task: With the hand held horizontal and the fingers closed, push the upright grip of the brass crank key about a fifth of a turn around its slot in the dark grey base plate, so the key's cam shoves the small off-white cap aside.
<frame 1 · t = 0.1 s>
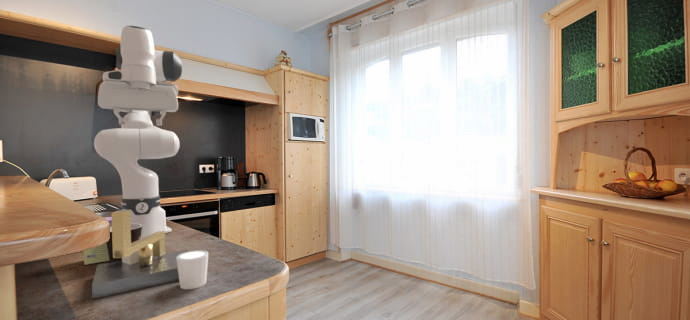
hand: (141, 124, 94), 39 cm above the counter, tool pointing down, fingers open, 8 cm apart
cover: (134, 260, 81), point 3 cm above the counter, touching dark grey base plate
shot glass: (193, 284, 74), on the counter
dark grey base plate: (146, 276, 78), on the counter
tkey: (142, 235, 76), point 11 cm above the counter, hinge at 0.0°
coffee mug: (129, 261, 89), on the counter, touching box
box: (108, 259, 91), on the counter, touching coffee mug
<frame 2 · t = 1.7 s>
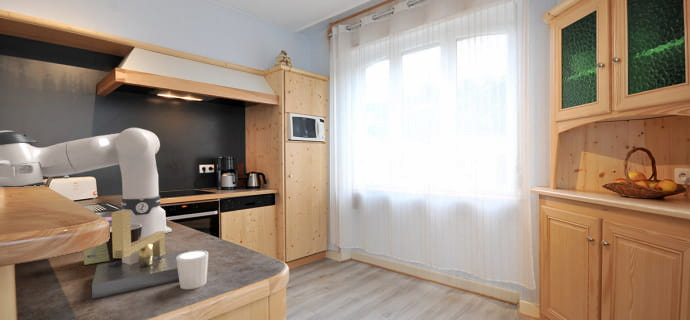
hand: (24, 170, 62), 28 cm above the counter, tool horizontal, fingers open, 8 cm apart
nothing on the counter moved.
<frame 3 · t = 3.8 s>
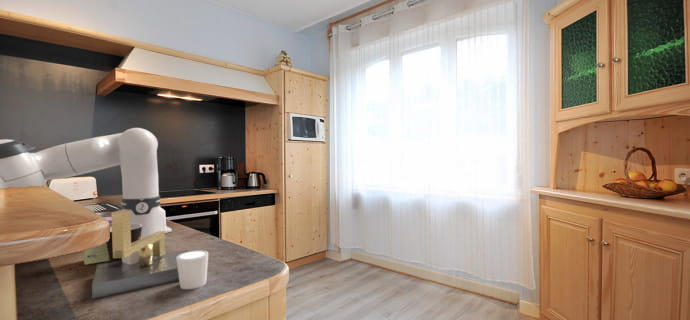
hand: (48, 233, 63), 15 cm above the counter, tool horizontal, fingers closed
nothing on the counter moved.
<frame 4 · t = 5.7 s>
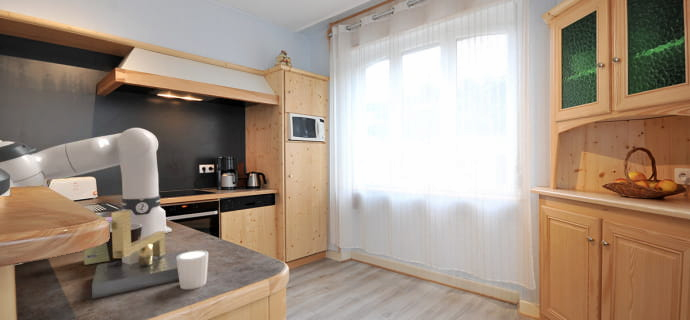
hand: (111, 225, 68), 15 cm above the counter, tool horizontal, fingers closed
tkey: (142, 235, 76), point 11 cm above the counter, hinge at 0.0°, touching gripper
everything else where it was.
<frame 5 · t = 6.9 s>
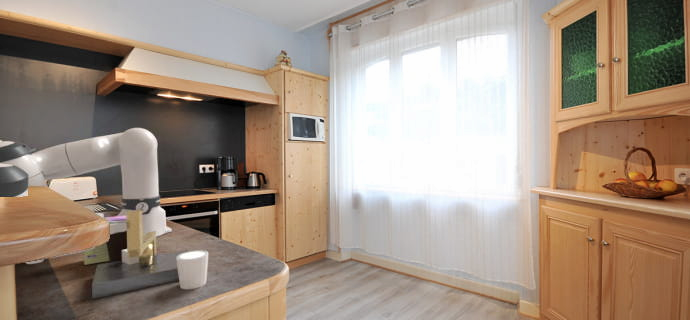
hand: (126, 225, 69), 15 cm above the counter, tool horizontal, fingers closed
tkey: (143, 235, 76), point 11 cm above the counter, hinge at 19.6°, touching gripper
everything else where it was.
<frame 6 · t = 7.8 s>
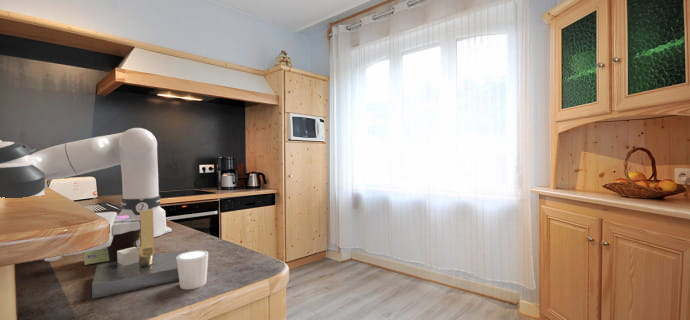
hand: (140, 224, 70), 15 cm above the counter, tool horizontal, fingers closed
cover: (130, 261, 80), point 3 cm above the counter
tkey: (145, 235, 77), point 11 cm above the counter, hinge at 35.9°, touching gripper
everything else where it was.
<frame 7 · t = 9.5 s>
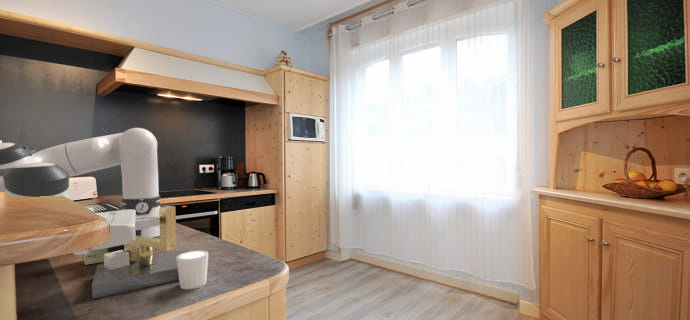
hand: (159, 220, 73), 15 cm above the counter, tool horizontal, fingers closed
cover: (116, 265, 78), point 3 cm above the counter, touching dark grey base plate
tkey: (148, 234, 77), point 11 cm above the counter, hinge at 68.0°, touching gripper
everything else where it was.
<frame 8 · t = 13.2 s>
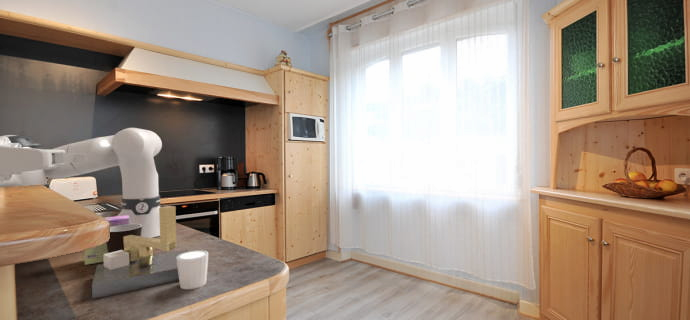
hand: (86, 157, 70), 30 cm above the counter, tool horizontal, fingers closed
cover: (116, 265, 77), point 3 cm above the counter, touching dark grey base plate, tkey
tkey: (148, 234, 77), point 11 cm above the counter, hinge at 68.4°, touching cover
everything else where it was.
at the end: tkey at +68° (first picture: +0°); cover moved 4.0 cm from its start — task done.
